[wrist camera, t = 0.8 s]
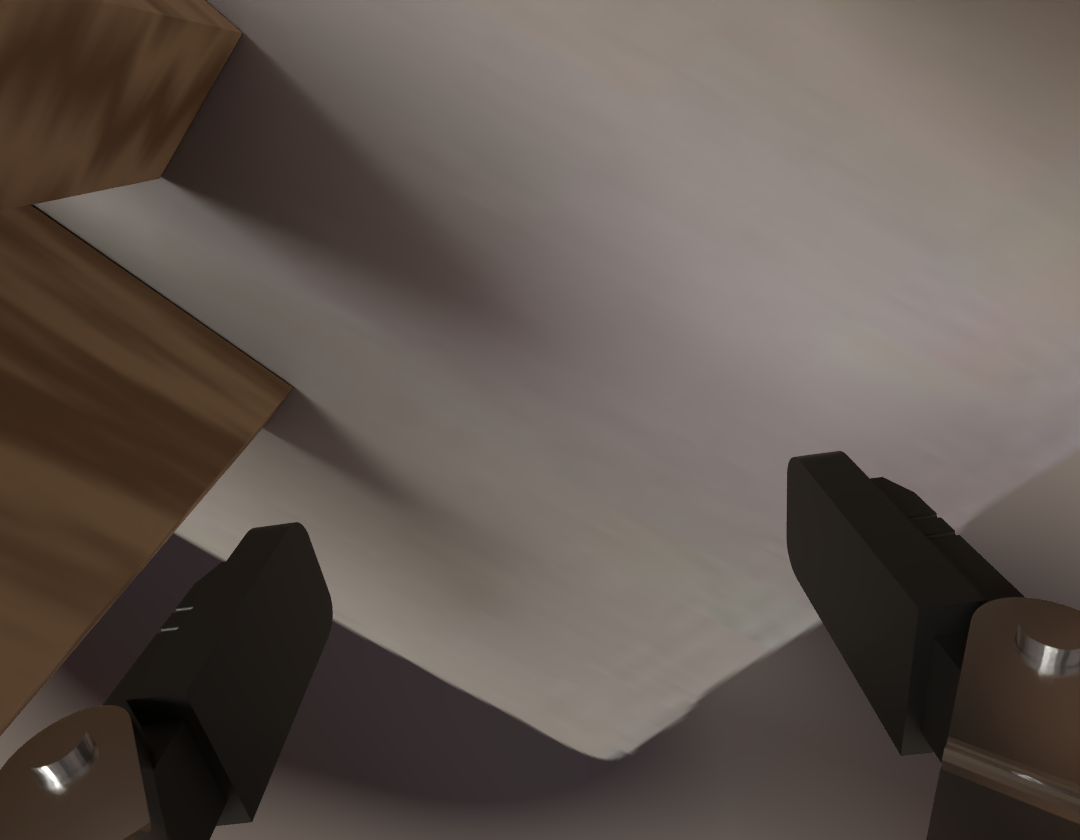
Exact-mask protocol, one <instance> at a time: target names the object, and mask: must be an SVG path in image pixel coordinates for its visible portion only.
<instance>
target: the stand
mask: <svg viewBox="0 0 1080 840" xmlns="http://www.w3.org/2000/svg"><path fill="white" fill-rule="evenodd" d="M241 35H242V32H241V31H240V30H239V29H238V28H236V27H235V26H234V25H233V24H232V23H231V22H229V21H228V20H227V19H226V18H225V17H224V16H223V15H221V14H220V13H219V12H218V11H217V10H216V9H214V8H213V7H212V6H211V5H210V4H209V3H207V2H206V1H205V0H0V736H1V734H2V733H3V732H4V731H5V730H6V729H7V728H8V726H9V725H10V724H11V723H12V721H14V719H15V718H16V717H17V716H18V715H19V714H20V712H21V711H22V710H23V709H24V708H25V706H26V705H27V704H28V703H29V702H30V700H31V699H32V698H33V697H34V696H35V695H36V693H37V692H38V691H39V690H40V689H41V688H42V686H43V685H44V684H45V683H46V682H47V681H48V679H49V678H50V677H51V676H52V675H53V673H54V672H55V671H56V670H57V669H58V668H59V667H60V665H61V664H62V663H63V662H64V661H65V659H66V658H67V657H68V656H69V655H70V654H71V652H72V651H73V650H74V649H75V648H76V647H77V645H78V644H79V643H80V642H81V641H82V639H83V638H84V637H85V636H86V635H87V634H88V632H89V631H90V630H91V629H92V628H93V626H94V625H95V624H96V623H97V622H98V621H99V619H100V618H101V617H102V616H103V615H104V614H105V612H106V611H107V610H108V609H109V608H110V607H111V605H112V604H113V603H114V602H115V601H116V600H117V598H118V597H119V596H120V595H121V593H122V592H123V591H124V590H125V589H126V588H127V586H128V585H129V584H130V583H131V582H132V581H133V580H134V578H135V577H136V576H137V575H138V574H139V572H140V571H141V570H142V569H143V568H144V567H145V565H146V564H147V563H148V562H149V561H150V559H151V558H152V557H153V556H154V555H155V553H156V552H157V551H158V550H159V549H160V548H161V547H162V545H163V544H164V543H165V542H166V541H167V540H168V538H169V537H170V536H171V535H172V534H173V533H174V531H175V530H176V529H177V528H178V527H179V525H180V524H181V523H182V522H183V521H184V520H185V518H186V517H187V516H188V515H189V514H190V513H191V511H192V510H193V509H194V508H195V507H196V506H197V504H198V503H199V502H200V501H201V500H202V498H203V497H204V496H205V495H206V494H207V493H208V491H209V490H210V489H211V488H212V487H213V486H214V484H215V483H216V482H217V481H218V480H219V478H220V477H221V476H222V475H223V474H224V473H225V471H226V470H227V469H228V468H229V467H230V466H231V464H232V463H233V462H234V461H235V460H236V459H237V457H238V456H239V455H240V454H241V453H242V451H243V450H244V449H245V448H246V447H247V446H248V444H249V443H250V442H251V441H252V440H253V439H254V437H255V436H256V435H257V434H258V433H259V431H260V430H261V429H262V428H263V426H264V425H265V424H266V423H267V421H268V420H269V419H270V417H271V416H272V415H273V413H274V412H275V411H276V409H277V408H278V407H279V406H280V404H281V403H282V402H283V400H284V399H285V398H286V396H287V395H288V394H289V392H290V391H291V390H292V389H293V387H291V386H290V385H288V384H287V383H285V382H284V381H282V380H281V379H280V378H278V377H277V376H275V375H274V374H272V373H271V372H270V371H268V370H267V369H265V368H264V367H262V366H261V365H260V364H258V363H257V362H255V361H254V360H252V359H251V358H250V357H248V356H247V355H245V354H244V353H242V352H241V351H239V350H238V349H237V348H235V347H234V346H232V345H231V344H229V343H228V342H227V341H225V340H224V339H222V338H221V337H219V336H218V335H217V334H215V333H214V332H212V331H211V330H209V329H208V328H206V327H205V326H204V325H202V324H201V323H199V322H198V321H196V320H195V319H194V318H192V317H191V316H189V315H188V314H186V313H185V312H184V311H182V310H181V309H179V308H178V307H176V306H175V305H173V304H172V303H171V302H169V301H168V300H166V299H165V298H163V297H162V296H161V295H159V294H158V293H156V292H155V291H153V290H152V289H151V288H149V287H148V286H146V285H145V284H143V283H142V282H140V281H139V280H138V279H136V278H135V277H133V276H132V275H130V274H129V273H128V272H126V271H125V270H123V269H122V268H120V267H119V266H118V265H116V264H115V263H113V262H112V261H110V260H109V259H107V258H106V257H105V256H103V255H102V254H100V253H99V252H97V251H96V250H95V249H93V248H92V247H90V246H89V245H87V244H86V243H85V242H83V241H82V240H80V239H79V238H77V237H76V236H74V235H73V234H72V233H70V232H69V231H67V230H66V229H64V228H63V227H62V226H60V225H59V224H57V223H56V222H54V221H53V220H52V219H50V218H49V217H47V216H46V215H44V214H43V213H41V212H40V211H39V210H37V209H36V208H34V207H33V206H31V205H32V204H37V203H42V202H47V201H51V200H56V199H61V198H66V197H71V196H76V195H81V194H86V193H91V192H95V191H100V190H105V189H110V188H115V187H120V186H125V185H130V184H134V183H139V182H144V181H149V180H154V179H159V178H160V177H161V175H162V173H163V172H164V170H165V168H166V166H167V165H168V163H169V161H170V159H171V158H172V156H173V154H174V152H175V151H176V149H177V147H178V145H179V144H180V142H181V140H182V138H183V137H184V135H185V133H186V131H187V129H188V128H189V126H190V124H191V122H192V121H193V119H194V117H195V115H196V114H197V112H198V110H199V108H200V107H201V105H202V103H203V101H204V100H205V98H206V96H207V94H208V93H209V91H210V89H211V87H212V86H213V84H214V82H215V80H216V79H217V77H218V75H219V73H220V72H221V70H222V68H223V66H224V64H225V63H226V61H227V59H228V57H229V56H230V54H231V52H232V50H233V49H234V47H235V45H236V43H237V42H238V40H239V38H240V36H241Z"/></svg>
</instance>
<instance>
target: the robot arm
mask: <svg viewBox="0 0 1080 840" xmlns="http://www.w3.org/2000/svg"><path fill="white" fill-rule="evenodd" d="M787 548H788V554H789V558H790V562H791V566H792V569H793V571H794V574H795V576H796V578H797V580H798V581H799V583H800V585H801V586H802V588H803V590H804V592H805V593H806V595H807V597H808V598H809V600H810V602H811V604H812V605H813V607H814V609H815V610H816V612H817V614H818V615H819V617H820V619H821V621H822V622H823V624H824V626H825V627H826V629H827V631H828V632H829V634H830V636H831V638H832V639H833V641H834V643H835V644H836V646H837V648H838V650H839V651H840V653H841V655H842V656H843V658H844V660H845V661H846V663H847V665H848V667H849V668H850V670H851V672H852V673H853V675H854V677H855V678H856V680H857V682H858V683H859V685H860V687H861V689H862V690H863V692H864V694H865V696H866V697H867V699H868V701H869V702H870V704H871V706H872V707H873V709H874V711H875V712H876V714H877V716H878V718H879V719H880V721H881V723H882V724H883V726H884V728H885V730H886V731H887V733H888V735H889V736H890V738H891V740H892V742H893V743H894V745H895V747H896V748H897V750H898V752H899V753H900V755H901V756H904V755H913V754H922V753H931V752H935V754H936V756H937V757H938V759H939V760H940V762H941V768H940V772H939V777H938V783H937V787H936V792H935V798H934V803H933V808H932V813H931V818H930V823H929V828H928V833H927V839H926V840H1080V611H1079V610H1077V609H1074V608H1072V607H1069V606H1066V605H1063V604H1059V603H1055V602H1052V601H1047V600H1042V599H1036V598H1027V597H1024V596H1023V595H1022V594H1021V593H1020V592H1019V591H1018V590H1017V589H1016V588H1015V587H1014V586H1013V585H1012V584H1011V583H1009V582H1008V581H1007V580H1006V579H1005V578H1004V577H1003V576H1002V575H1001V574H1000V573H999V572H998V571H997V570H996V569H995V568H994V567H993V566H992V565H990V564H989V563H988V562H987V561H986V560H985V559H984V558H983V557H982V556H981V555H980V554H979V553H978V552H977V551H976V550H975V549H973V548H972V547H971V546H970V545H969V544H968V543H967V542H966V541H965V540H964V539H963V538H962V537H961V536H960V535H957V536H956V535H955V530H954V529H952V528H951V527H950V526H949V525H948V524H947V523H946V522H945V521H944V520H943V519H942V518H941V517H940V518H937V515H936V512H935V511H933V510H932V509H931V508H930V507H929V506H928V505H927V504H926V503H925V502H924V501H923V500H922V499H921V498H920V497H919V496H918V495H917V494H915V493H914V492H912V491H910V490H908V489H906V488H904V487H902V486H900V485H898V484H896V483H894V482H892V481H890V480H888V479H885V478H883V477H879V478H871V479H869V478H868V476H867V475H866V474H865V473H864V472H863V471H862V470H861V469H860V468H859V467H858V466H857V465H856V464H855V463H854V462H853V461H852V460H851V459H850V458H849V457H848V456H847V455H846V454H845V453H844V452H842V451H836V452H828V453H821V454H813V455H806V456H798V457H793V458H791V459H790V461H789V464H788V471H787ZM176 610H177V611H176V613H172V614H171V616H170V617H169V618H168V620H167V621H166V622H165V623H164V625H163V626H162V627H161V633H158V634H156V635H155V637H154V638H153V639H152V641H151V642H150V643H149V645H148V646H147V647H146V649H145V650H144V651H143V652H142V654H141V655H140V656H139V658H138V659H137V661H136V662H135V663H134V664H133V666H132V667H131V668H130V670H129V671H128V672H127V674H126V675H125V676H124V678H123V679H122V680H121V682H120V683H119V684H118V685H117V687H116V688H115V689H114V691H113V692H112V693H111V695H110V696H109V697H108V699H107V700H106V701H105V703H104V704H103V705H102V706H95V707H91V708H87V709H84V710H81V711H78V712H75V713H73V714H71V715H69V716H67V717H64V718H62V719H60V720H59V721H57V722H55V723H53V724H52V725H50V726H48V727H47V728H45V729H44V730H42V731H41V732H39V733H38V734H36V735H35V736H34V737H33V738H31V739H30V740H29V741H27V742H26V743H25V744H24V745H23V746H22V747H20V748H19V749H18V750H17V751H16V752H15V753H14V754H13V755H12V756H11V757H10V758H9V760H8V761H7V762H6V763H5V765H4V766H3V767H2V768H1V770H0V840H210V837H211V835H212V833H213V831H214V829H215V827H216V826H220V825H229V824H239V823H248V822H252V821H253V818H254V816H255V814H256V811H257V809H258V806H259V804H260V802H261V799H262V797H263V794H264V792H265V789H266V787H267V785H268V782H269V779H270V777H271V775H272V772H273V770H274V768H275V765H276V763H277V760H278V758H279V755H280V753H281V750H282V748H283V745H284V743H285V741H286V738H287V736H288V734H289V731H290V729H291V726H292V724H293V722H294V719H295V717H296V714H297V712H298V709H299V707H300V705H301V702H302V699H303V697H304V695H305V692H306V690H307V688H308V685H309V683H310V680H311V678H312V675H313V673H314V670H315V668H316V666H317V663H318V661H319V658H320V656H321V653H322V651H323V649H324V646H325V644H326V641H327V639H328V636H329V634H330V631H331V626H332V617H333V611H332V601H331V597H330V594H329V591H328V588H327V585H326V582H325V580H324V577H323V574H322V571H321V568H320V566H319V563H318V560H317V557H316V555H315V552H314V549H313V546H312V543H311V541H310V538H309V535H308V533H307V531H306V529H305V528H304V526H303V525H302V524H300V523H297V522H295V523H287V524H280V525H272V526H265V527H258V528H253V529H251V530H249V531H248V532H247V534H246V535H245V536H244V538H243V539H242V540H241V542H240V543H239V545H238V546H237V547H236V549H235V550H234V552H233V553H232V554H231V556H230V557H229V558H228V560H227V561H226V562H222V563H220V564H219V565H218V566H217V567H215V568H214V569H213V570H211V571H210V572H209V573H208V574H207V575H205V576H204V577H203V578H201V579H200V580H199V581H198V582H196V583H195V584H194V585H193V587H192V588H191V589H190V591H189V592H188V594H187V595H186V596H185V597H184V599H183V600H182V601H181V603H180V604H179V605H178V606H177V608H176Z"/></svg>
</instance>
